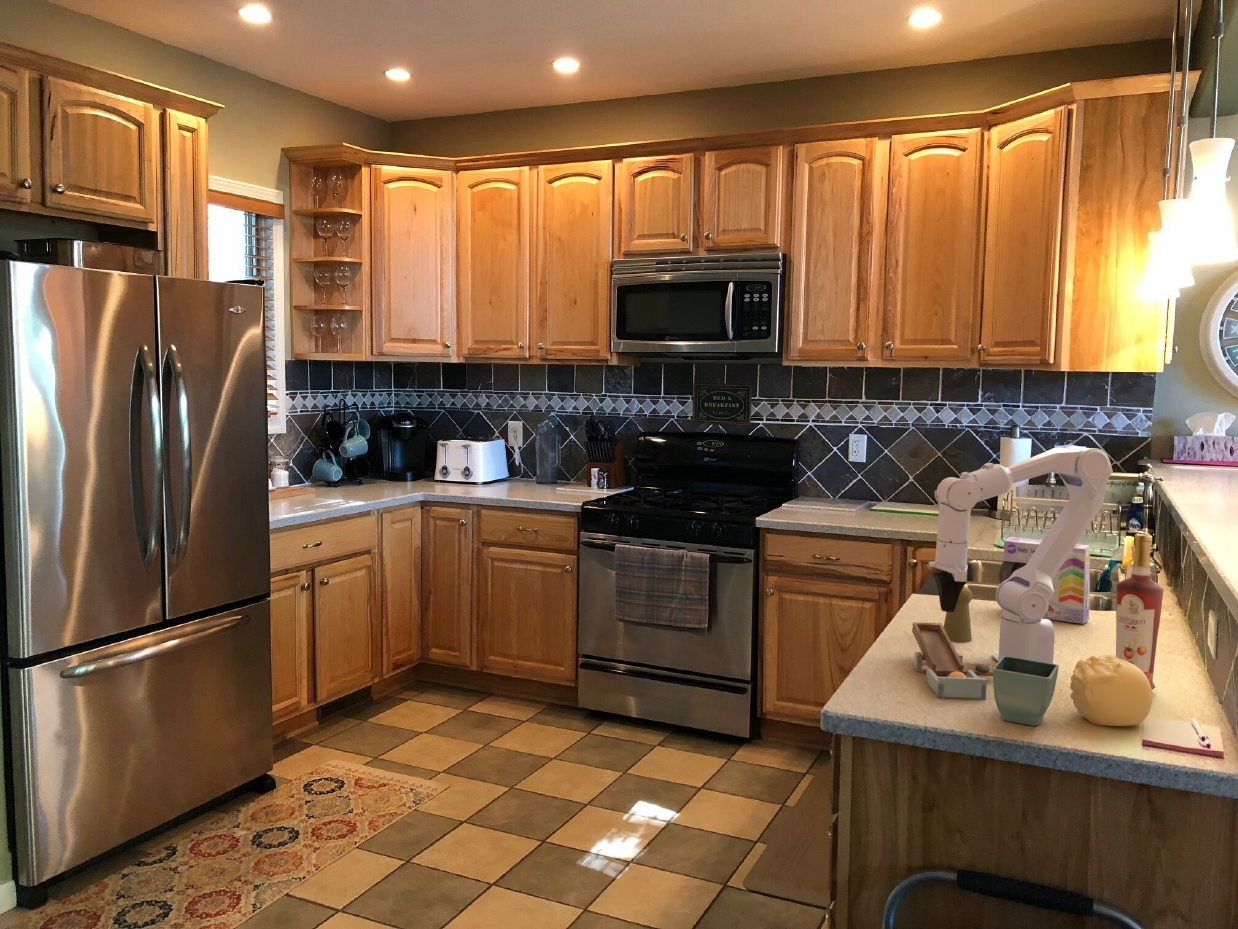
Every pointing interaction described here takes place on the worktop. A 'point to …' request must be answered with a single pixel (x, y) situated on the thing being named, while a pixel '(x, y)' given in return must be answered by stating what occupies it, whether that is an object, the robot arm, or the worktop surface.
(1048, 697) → the flower pot
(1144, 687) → the sculpture
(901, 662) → the worktop surface
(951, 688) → the dish
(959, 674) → the ball
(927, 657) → the lever
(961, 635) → the olive green pepper shaker
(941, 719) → the worktop surface
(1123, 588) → the liquor
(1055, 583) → the cake pan box
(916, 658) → the fulcrum
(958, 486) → the robot arm
